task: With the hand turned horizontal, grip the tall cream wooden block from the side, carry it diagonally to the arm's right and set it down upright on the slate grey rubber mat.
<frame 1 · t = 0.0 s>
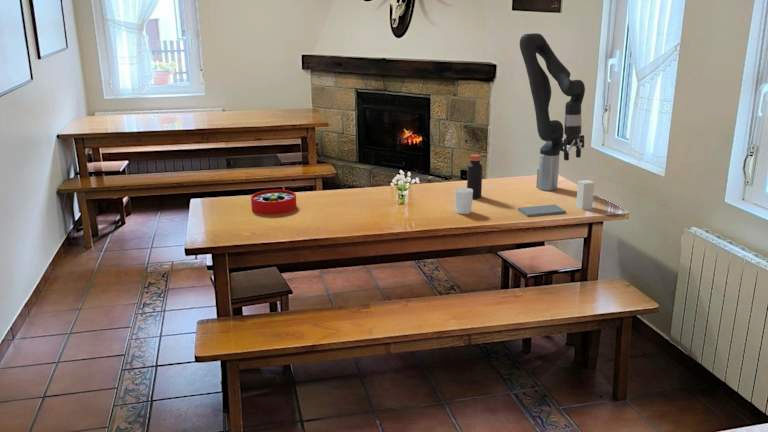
hand: (572, 158, 321), 17 cm above the table, tool pointing down, fingers open, 8 cm apart
white cup: (463, 212, 302), on the table
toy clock: (274, 208, 311), on the table
bottle: (474, 197, 324), on the table
block: (584, 207, 306), on the table
mat: (541, 211, 302), on the table
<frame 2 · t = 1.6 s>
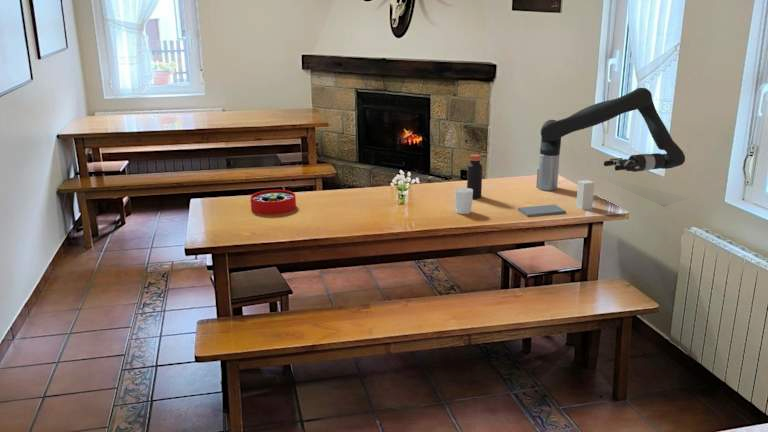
hand: (609, 165, 303), 18 cm above the table, tool horizontal, fingers open, 8 cm apart
nothing on the table moved.
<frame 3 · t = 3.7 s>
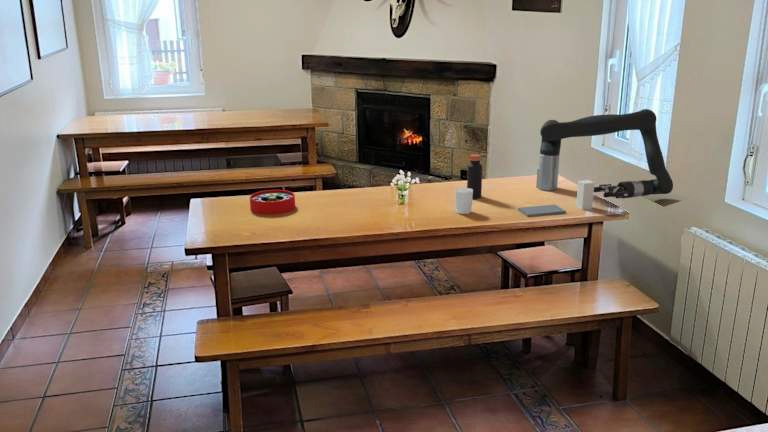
hand: (598, 192, 306), 6 cm above the table, tool horizontal, fingers open, 8 cm apart
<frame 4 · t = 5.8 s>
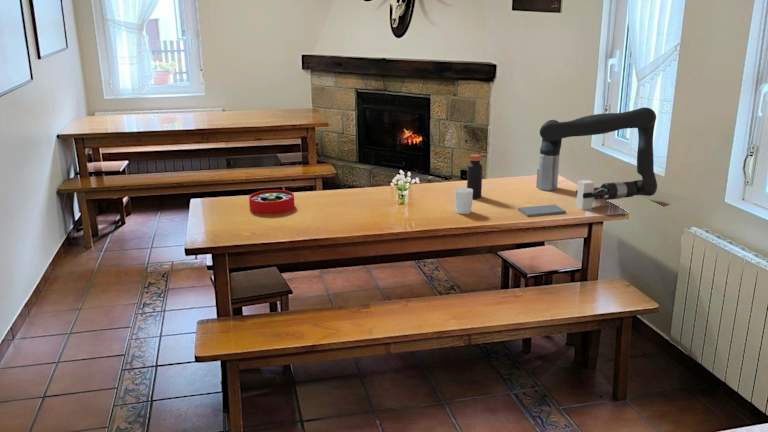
hand: (580, 194, 304), 7 cm above the table, tool horizontal, fingers closed on block, 5 cm apart
block: (584, 207, 306), on the table, touching gripper
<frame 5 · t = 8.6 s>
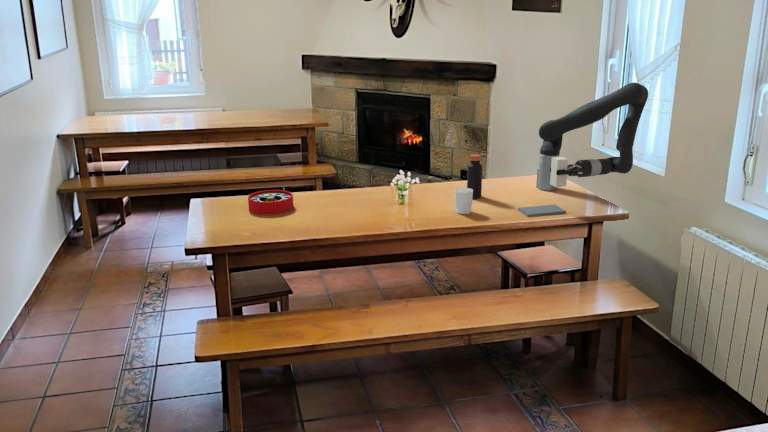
hand: (553, 171, 297), 18 cm above the table, tool horizontal, fingers closed on block, 5 cm apart
block: (558, 185, 300), point 11 cm above the table, touching gripper
when the fingers open (9 cm above the table, at t = 11.3 s): block drops 1 cm, resting on mat.
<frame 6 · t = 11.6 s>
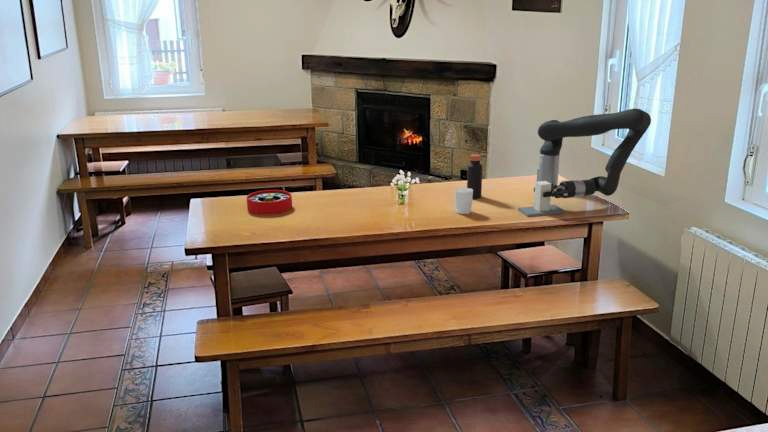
hand: (538, 192, 298), 9 cm above the table, tool horizontal, fingers open, 8 cm apart
block: (541, 209, 301), point 1 cm above the table, touching mat
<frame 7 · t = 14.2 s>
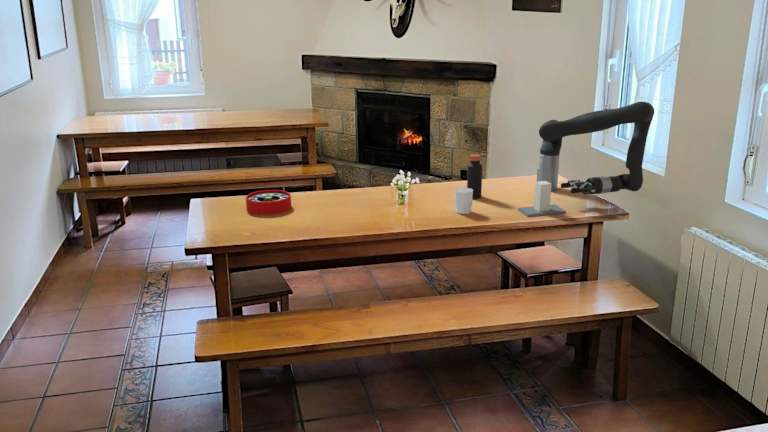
hand: (566, 188, 302), 10 cm above the table, tool horizontal, fingers open, 8 cm apart
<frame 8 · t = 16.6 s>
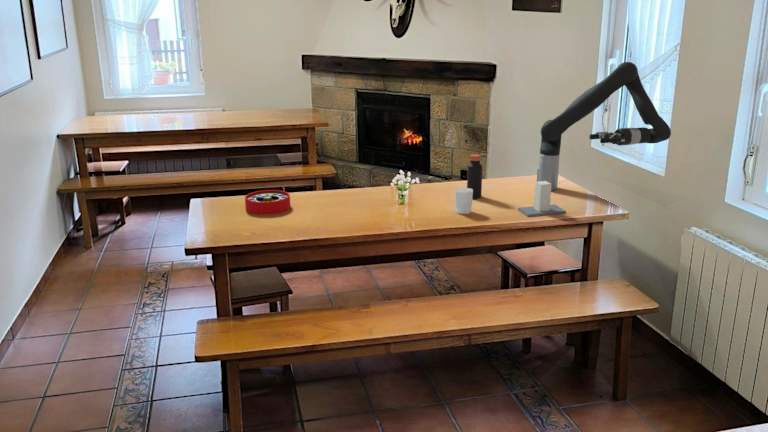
hand: (595, 138, 302), 30 cm above the table, tool horizontal, fingers open, 8 cm apart
at the end: block inside the target area on the mat (0.1 cm from its centre), point 1.0 cm above the mat's base; block tilted 0°; the gripper is holding nothing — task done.
